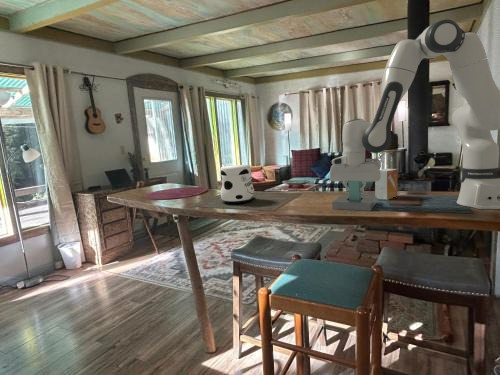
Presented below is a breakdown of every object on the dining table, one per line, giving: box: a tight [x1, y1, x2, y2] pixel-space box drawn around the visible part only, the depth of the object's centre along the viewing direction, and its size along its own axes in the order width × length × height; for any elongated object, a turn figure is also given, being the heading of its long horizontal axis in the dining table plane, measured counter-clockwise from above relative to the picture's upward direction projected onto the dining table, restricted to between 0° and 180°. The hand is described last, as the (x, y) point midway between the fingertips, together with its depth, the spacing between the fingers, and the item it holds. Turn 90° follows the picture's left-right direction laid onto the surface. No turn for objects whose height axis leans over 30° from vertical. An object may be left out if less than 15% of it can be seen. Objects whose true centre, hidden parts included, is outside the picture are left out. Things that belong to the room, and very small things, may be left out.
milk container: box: [219, 164, 255, 204], centre depth 163 cm, size 17×17×18 cm
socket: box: [331, 194, 378, 212], centre depth 136 cm, size 15×15×3 cm
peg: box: [348, 181, 362, 201], centre depth 135 cm, size 4×4×10 cm
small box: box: [374, 168, 399, 201], centre depth 146 cm, size 8×6×13 cm
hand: (354, 191), depth 135 cm, fingers closed on peg, 4 cm apart
